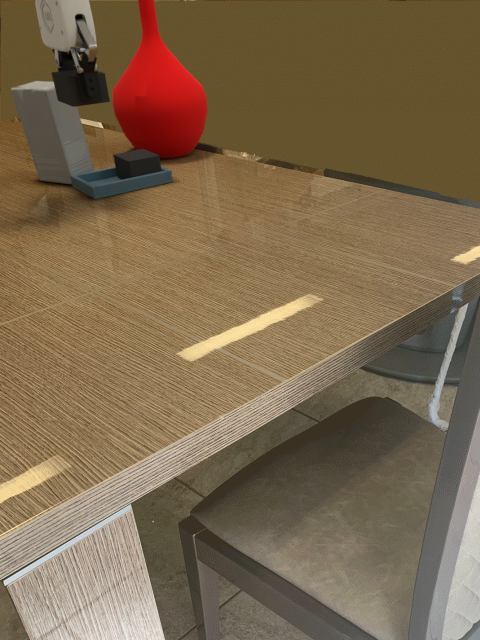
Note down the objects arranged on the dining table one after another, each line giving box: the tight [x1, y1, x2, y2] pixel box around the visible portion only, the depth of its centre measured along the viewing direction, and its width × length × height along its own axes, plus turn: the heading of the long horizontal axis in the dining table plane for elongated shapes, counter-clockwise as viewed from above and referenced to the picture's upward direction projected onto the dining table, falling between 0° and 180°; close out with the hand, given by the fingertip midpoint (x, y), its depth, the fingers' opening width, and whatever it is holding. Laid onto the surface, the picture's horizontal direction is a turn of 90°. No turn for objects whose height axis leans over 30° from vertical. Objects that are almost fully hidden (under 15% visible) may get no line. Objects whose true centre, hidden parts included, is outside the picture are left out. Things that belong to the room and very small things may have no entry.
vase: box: [111, 0, 209, 159], centre depth 124 cm, size 18×18×30 cm
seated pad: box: [112, 149, 162, 180], centre depth 116 cm, size 6×6×4 cm
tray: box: [70, 165, 174, 200], centre depth 115 cm, size 15×9×2 cm, turn 131°
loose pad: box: [51, 70, 111, 107], centre depth 99 cm, size 6×6×4 cm
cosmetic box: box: [10, 80, 96, 185], centre depth 113 cm, size 8×7×16 cm
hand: (82, 97), depth 100 cm, fingers closed on loose pad, 6 cm apart
